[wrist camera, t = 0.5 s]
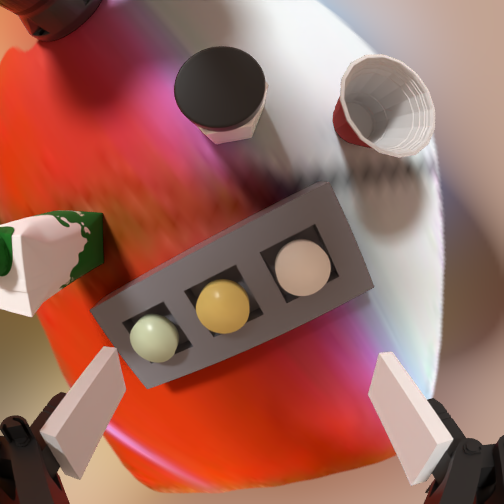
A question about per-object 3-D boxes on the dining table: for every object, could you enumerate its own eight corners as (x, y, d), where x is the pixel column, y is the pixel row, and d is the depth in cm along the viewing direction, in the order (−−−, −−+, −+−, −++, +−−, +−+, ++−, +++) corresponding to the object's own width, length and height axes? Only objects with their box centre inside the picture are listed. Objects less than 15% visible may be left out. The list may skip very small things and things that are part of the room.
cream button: (265, 254, 34) (266, 258, 32) (313, 229, 34) (316, 233, 32) (288, 298, 36) (290, 305, 34) (334, 274, 35) (338, 280, 33)
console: (104, 296, 41) (89, 310, 36) (319, 181, 37) (329, 181, 32) (155, 370, 44) (147, 389, 39) (361, 274, 40) (374, 287, 35)
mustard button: (189, 292, 35) (186, 299, 34) (233, 270, 35) (232, 275, 33) (214, 333, 37) (213, 341, 35) (258, 312, 36) (258, 320, 34)
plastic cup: (404, 124, 35) (454, 111, 24) (358, 179, 37) (400, 181, 26) (347, 68, 34) (381, 33, 22) (296, 120, 36) (316, 97, 24)
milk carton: (108, 206, 38) (9, 234, 18) (110, 270, 40) (26, 335, 21) (58, 205, 38) (-42, 230, 18) (61, 264, 40) (-28, 317, 20)
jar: (258, 76, 34) (261, 37, 22) (269, 136, 36) (278, 118, 24) (188, 90, 34) (163, 57, 23) (198, 149, 36) (175, 137, 25)
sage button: (126, 324, 37) (121, 331, 35) (162, 306, 36) (157, 313, 34) (152, 360, 38) (148, 368, 36) (188, 344, 37) (185, 353, 35)
